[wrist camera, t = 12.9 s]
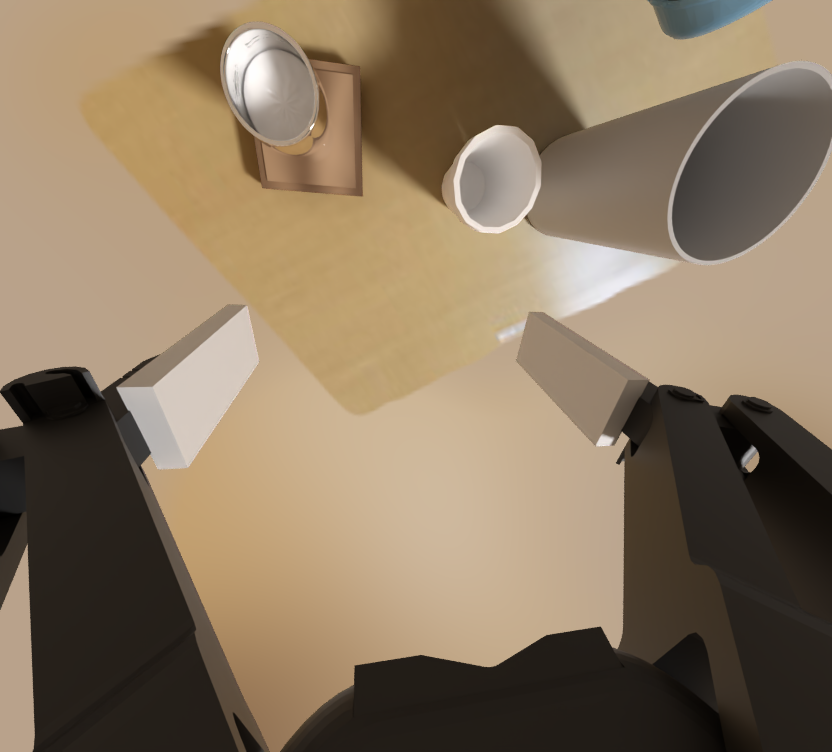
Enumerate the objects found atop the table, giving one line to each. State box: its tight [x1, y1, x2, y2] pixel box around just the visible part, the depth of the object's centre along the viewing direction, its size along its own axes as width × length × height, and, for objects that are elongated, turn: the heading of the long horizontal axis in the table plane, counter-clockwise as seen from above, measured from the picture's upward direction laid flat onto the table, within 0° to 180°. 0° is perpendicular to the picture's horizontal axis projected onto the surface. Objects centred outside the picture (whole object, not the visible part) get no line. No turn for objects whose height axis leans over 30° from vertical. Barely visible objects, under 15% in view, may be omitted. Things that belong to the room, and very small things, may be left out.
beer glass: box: [220, 22, 335, 163], centre depth 28 cm, size 7×7×15 cm
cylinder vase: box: [527, 61, 832, 265], centre depth 33 cm, size 12×12×25 cm
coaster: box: [254, 59, 363, 196], centre depth 35 cm, size 12×12×3 cm
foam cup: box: [441, 125, 542, 233], centre depth 36 cm, size 10×9×13 cm
